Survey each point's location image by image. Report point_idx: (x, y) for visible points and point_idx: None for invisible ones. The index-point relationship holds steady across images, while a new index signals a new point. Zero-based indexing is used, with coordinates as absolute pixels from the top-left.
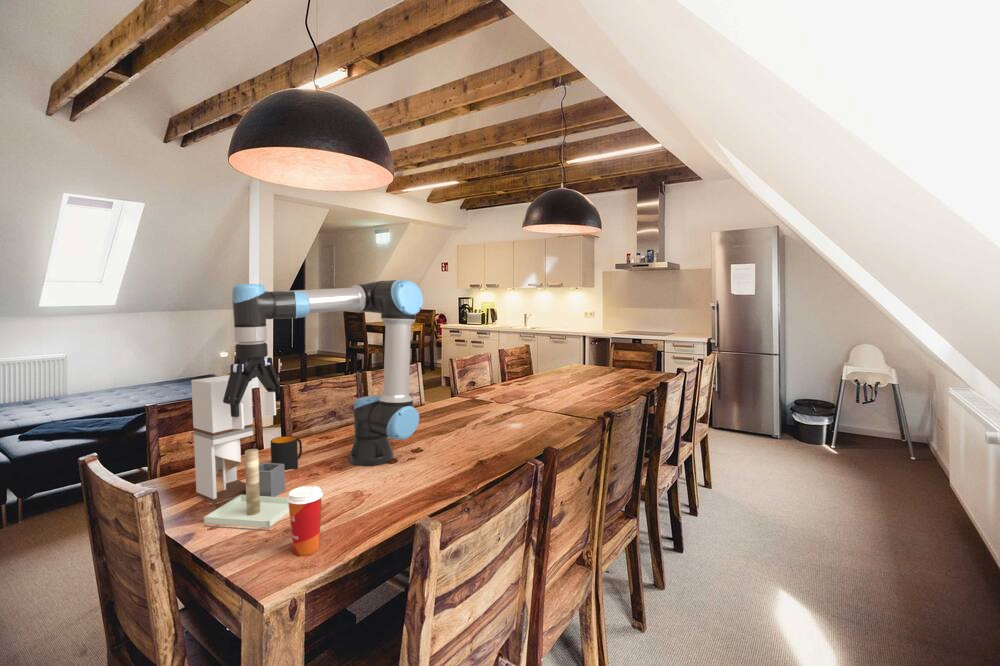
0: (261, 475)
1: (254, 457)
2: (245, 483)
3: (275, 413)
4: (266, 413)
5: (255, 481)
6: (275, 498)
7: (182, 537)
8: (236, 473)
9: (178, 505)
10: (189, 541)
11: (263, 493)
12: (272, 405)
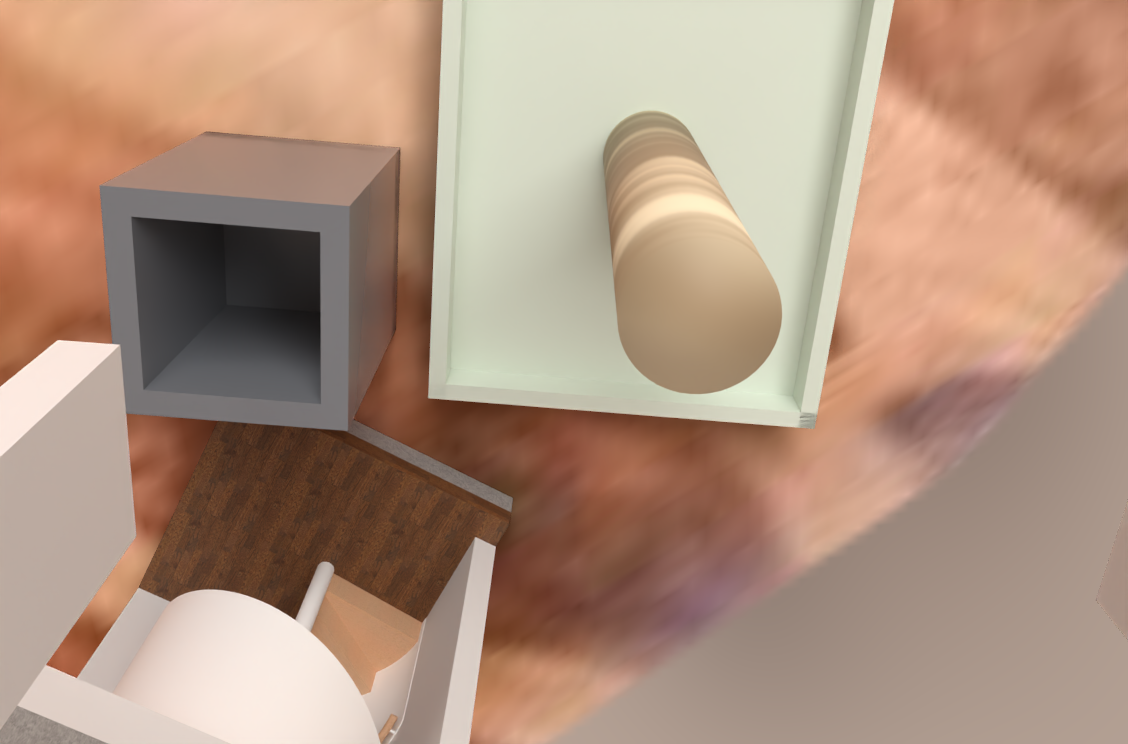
0: (356, 291)
1: (741, 234)
2: (190, 492)
3: (67, 355)
4: (118, 539)
5: (704, 170)
6: (458, 81)
7: (939, 439)
8: (119, 620)
9: (503, 725)
10: (996, 366)
11: (386, 232)
12: (15, 492)
